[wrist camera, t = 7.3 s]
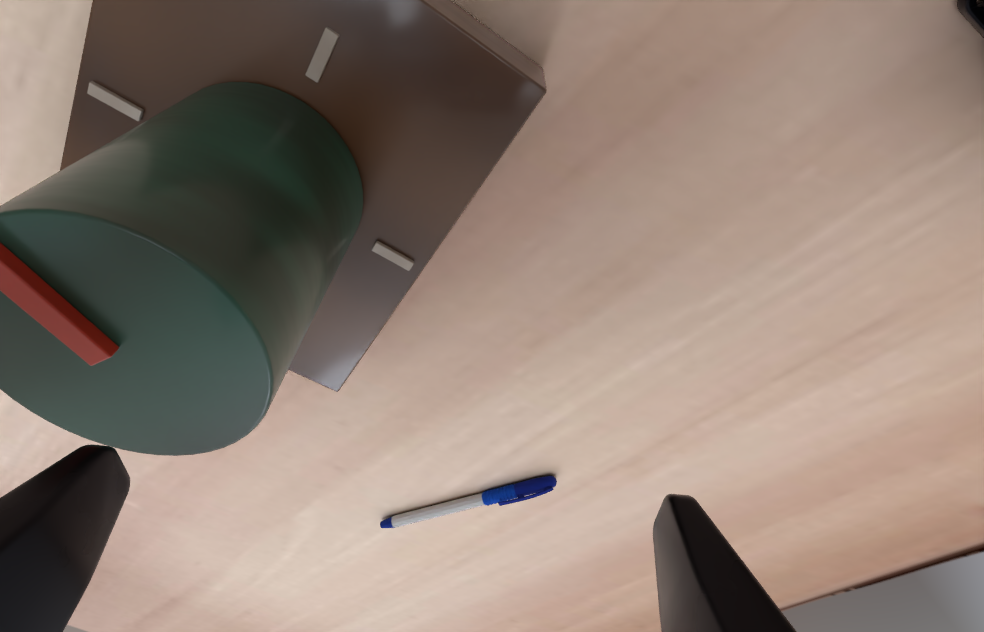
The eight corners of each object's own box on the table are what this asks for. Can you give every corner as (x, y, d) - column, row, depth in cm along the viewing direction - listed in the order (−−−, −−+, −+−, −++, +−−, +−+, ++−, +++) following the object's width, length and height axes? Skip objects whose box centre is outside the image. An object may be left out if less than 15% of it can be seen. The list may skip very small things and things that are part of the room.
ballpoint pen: (551, 468, 29) (552, 484, 28) (558, 478, 29) (559, 494, 28) (380, 516, 32) (377, 532, 31) (388, 524, 32) (385, 540, 31)
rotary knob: (400, 226, 18) (330, 420, 11) (255, 292, 19) (118, 494, 13) (279, 40, 15) (78, 154, 8) (119, 138, 16) (-155, 301, 10)
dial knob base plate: (187, -195, 14) (127, -213, 12) (544, 68, 17) (548, 92, 15) (87, 224, 21) (38, 260, 19) (352, 352, 24) (336, 395, 22)
